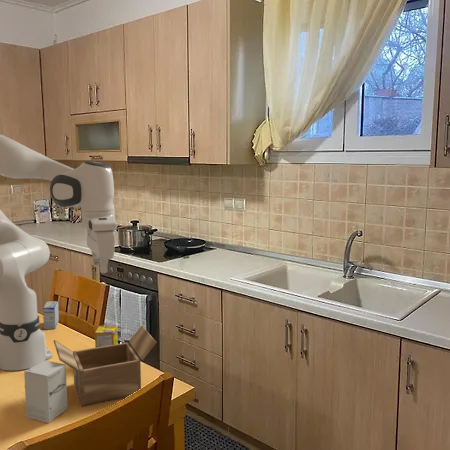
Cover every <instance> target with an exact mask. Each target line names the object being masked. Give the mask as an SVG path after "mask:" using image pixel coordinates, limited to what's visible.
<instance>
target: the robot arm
mask: <svg viewBox="0 0 450 450" xmlns="http://www.w3.org/2000/svg"><path fill="white" fill-rule="evenodd" d="M0 176H2V177H5V178H9V179H13V180H16V179H19V180H20V179H38V180H39V179H41V180H47V181H50V185H49V194H50V197H51V199H52V201H53V203H54V204H56V205H57V206H58V207H60V208H68V209H69V208H74V207H75V208H76V207H81V208H80V209H81V223H82V225H81V226H82V228H84V229H86V245H87V247H88V248H89V249H90V251H91V256H92V262H93V263H92V265H94V266H95V267H98V266H99V272H100V273H101V274H107V273H108V264H109V260H112V259H114V255H115V247H116V246H115V243H116V233H115V231H117V230H118V226H117V225H118V223H117V221H116V216H115V215H116V214H115V211H116V210H115V205H114V197H115V183H114V182H115V181H114V175H113V170H112V168H111V166H110V165H108V163H105V162H103V161H102V162H101V161H95V160H86V161H85V160H84V161H83V162H82V163H81V164H80V165H79V166H77V167H76V168H75V167H72V166H70V165H68V164H65V163H63V162H60V160H55V159H53V158H51V157H48V156H46V155H44V154H43V153H40V152H37V151H36V150H33V149H31V148H30V147H28V146H26V145H24V144H22V143H21V142H18V141H16V140H14V139H12V138H10V137H8V136H6V135H4V134H2V133H0ZM50 255H51V252H50V248H49V246H48V244H47V243H46V241H44V240H43V239H41V238H38V237H36V236H33V235H31V234H29V233H27V232H26V231H24V230H23V229H21V228H20V227H19V226H18V225H16V224H15V223H13V221H11V220H10V219H9V218H8V217H7V216H6V214H5V213H4V212H3V211H2V210H1V209H0V370H4V371H22V370H28V369H30V368H32V367H33V366H35V365H37V364H39V363H40V362H42V361H44V360H45V361H47V360H49V359H51V358H52V357H53V356H54V355H53V352H52V351H51V350H50V349H49V348H48V346H47V343H46V334H45V332H44V331H43V330H41V329H40V327H41V326H40V323H41V322H40V321H41V320H40V316H39V315H38V301H37V300H38V297H37V293H36V291H35V290H34V289H32V288H30V287H28V284H27V283H26V279H25V276H26V275H27V274H30V273H32V272H33V273H34V272H35V271H37V270H39V269H40V268H42V267H43V266H44V265H45V264H47V263H48V261H49V259H50Z"/></svg>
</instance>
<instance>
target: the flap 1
mask: <svg viewBox="0 0 450 450" xmlns="http://www.w3.org/2000/svg"><path fill="white" fill-rule="evenodd" d="M53 344H54V347H55V350H56V354H57V356H58V360H59V361H60V362H61V363H62V364H65V365H66V366H68V367H69V368H71V369H74V370H76V371H77V372H78V371H79V368H78V366H77V363H76V361H75V358H74V356H73V351H72V350H71V349H70V348H68V347H66V346H65V345H63V344H62V343H60V342H59V341H58V340H56V339H54V340H53Z"/></svg>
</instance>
